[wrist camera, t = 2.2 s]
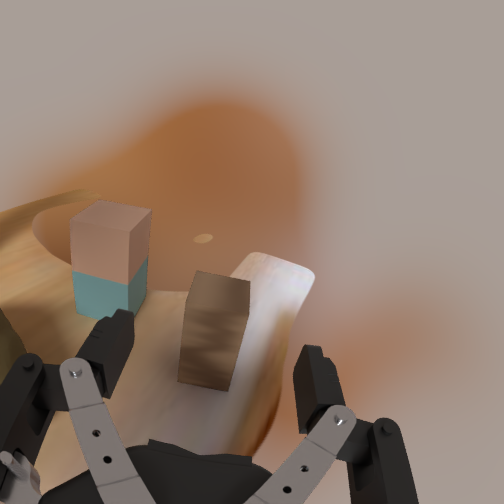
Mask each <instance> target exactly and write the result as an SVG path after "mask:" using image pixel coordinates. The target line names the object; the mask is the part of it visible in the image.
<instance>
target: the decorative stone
mask: <svg viewBox="0 0 504 504" xmlns="http://www.w3.org/2000/svg"><path fill="white" fill-rule="evenodd" d="M23 354H27V353H26V349H25V347H24V344H23V342H22V340H21V339H20V337H19V336H18V335H17V333H16V332H15V331H14V330H13V328H12V327H11V324H10V323H9V321H8V319H7V318H6V317H5V315H4V314H3V312H2V310H1V308H0V385H1V383H2V382H3V380H4V379H5V377H6V375H7V374H8V372H9V370H10V369H11V367H12V366H13V364H14V363H15V361H16V360H17V358H18V357H20V356H21V355H23Z"/></svg>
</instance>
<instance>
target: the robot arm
mask: <svg viewBox="0 0 504 504" xmlns="http://www.w3.org/2000/svg"><path fill="white" fill-rule="evenodd" d="M134 337H135V335H134V313H133V312H132V311H128V310H124V309H120V308H118V309H117V310H116V311H115V313H114V315H113V316H112V317H108V316H105V317H104V318H102V319H101V320H99V321H98V322H97V323H96V325H95V326H94V328H93V330H92V331H91V333H90V334H89V336H88V337H87V339H86V340H85V342H84V344H83V345H82V347H81V348H80V350H79V352H78V353H77V355H76V356H75V358H69V359H67V360H65V361H64V362H63V363H62V364H61V365H52V364H43V362H42V360H41V358H40V357H39V356H37V355H35V354H32V353H27V354H23V355H21V356H20V357H18V358H17V360H16V361H15V363H14V364H13V366H12V367H11V369H10V370H9V372H8V374H7V375H6V377H5V379H4V380H3V382H2V383H1V385H0V504H303V503H304V502H305V500H306V499H307V498H308V496H309V495H310V494H311V493H312V491H313V490H314V489H315V487H316V486H317V485H318V483H319V482H320V480H321V479H322V478H323V476H324V475H325V474H326V472H327V471H328V469H329V468H330V466H331V464H332V463H333V462H334V460H335V459H339V460H342V461H346V463H347V470H348V479H349V488H350V497H351V504H419V502H418V498H417V493H416V489H415V484H414V480H413V476H412V472H411V468H410V464H409V460H408V456H407V453H406V449H405V446H404V442H403V438H402V434H401V431H400V428H399V426H398V425H397V424H396V423H395V422H394V421H393V420H391V419H389V418H379V419H377V420H376V421H375V422H374V423H370V422H367V421H363V420H360V419H357V418H356V416H355V414H354V413H353V411H352V410H351V409H349V408H348V407H346V405H345V401H344V397H343V393H342V389H341V386H340V383H339V378H338V376H337V371H336V367H335V365H334V364H333V362H332V361H331V360H330V358H326V357H323V353H322V349H321V347H320V346H314V345H304V346H303V348H302V351H301V353H300V356H299V358H298V360H297V363H296V365H295V367H294V372H293V383H294V391H295V400H296V408H297V417H298V426H299V433H300V434H307V437H305V438H304V440H303V441H302V442H301V443H300V444H299V446H298V447H297V448H296V449H295V450H294V451H293V453H292V454H291V455H290V456H289V457H288V458H287V459H286V461H285V462H284V463H283V464H282V465H281V466H280V467H279V469H278V470H277V471H276V472H275V473H274V474H272V473H270V472H269V471H268V470H266V469H264V468H263V467H261V466H258V465H256V464H253V463H252V457H251V456H241V455H232V454H218V455H197V454H195V453H192V452H190V451H187V450H185V449H183V448H180V447H178V446H176V445H173V444H168V443H164V442H160V441H155V440H151V439H149V442H148V445H138V446H132V447H129V448H126V449H125V448H124V446H123V444H122V441H121V439H120V437H119V435H118V433H117V431H116V428H115V426H114V424H113V421H112V419H111V417H110V414H109V412H108V410H107V407H106V405H105V403H104V402H103V400H102V397H104V398H107V399H110V398H111V396H112V393H113V391H114V388H115V386H116V384H117V381H118V379H119V377H120V375H121V372H122V370H123V368H124V366H125V363H126V361H127V359H128V357H129V355H130V352H131V350H132V348H133V344H134ZM55 411H68V412H69V413H70V416H71V420H72V423H73V426H74V429H75V432H76V435H77V438H78V441H79V444H80V446H81V449H82V452H83V455H84V457H85V460H86V462H87V465H88V467H89V469H88V470H87V471H85V472H83V473H81V474H80V475H78V476H76V477H74V478H72V479H70V480H68V481H67V482H65V483H63V484H61V485H59V486H57V487H55V488H53V489H51V490H49V491H48V492H46V493H45V494H44V495H43V496H42V495H41V492H40V476H39V473H38V471H37V470H36V469H35V468H34V464H35V461H36V458H37V456H38V453H39V450H40V448H41V445H42V442H43V440H44V437H45V435H46V432H47V430H48V427H49V425H50V423H51V420H52V418H53V416H54V413H55Z"/></svg>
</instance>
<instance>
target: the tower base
mask: <svg viewBox="0 0 504 504" xmlns="http://www.w3.org/2000/svg"><path fill="white" fill-rule="evenodd" d="M147 266H148V256H147V258H146V259H145V261H144V262H143V264H142V265H141V267H140V268H139V269H138V271H137V272H136V274H135V275H134V277H133V278H132V280H131V281H130V283H129V284H128V285H126V284H122V283H118V282H114V281H110V280H106V279H102V278H99V277H95V276H91V275H87V274H84V273H80V272H76V271H73V270H72V275H73V285H74V294H75V302H76V310H77V313H78V314H81V315H84V316H88V317H91V318H94V319H98V320H101V319H102V318H104V317H105V316H108V317H112V316H113V315H114V313H115V311H116V310H117V309H118V308H120V309H124V310H128V311H132V312H133V313H134V317H135V315H136V313H137V311H138V310H139V308H140V306H141V304H142V302H143V300H144V298H145V297H146V284H147Z"/></svg>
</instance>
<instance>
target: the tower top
mask: <svg viewBox="0 0 504 504" xmlns="http://www.w3.org/2000/svg"><path fill="white" fill-rule="evenodd" d="M151 215H152V209H148V208H142V207H137V206H132V205H126V204H121V203H115V202H110V201H104V200H98V201H97V202H95V203H93V204H92V205H90V206H89V207H87V208H86V209H84V210H83V211H81V212H80V213H78V214H77V215H76V216H74V217H72V218H71V219H70V243H71V261H72V270H73V271H76V272H80V273H84V274H87V275H91V276H95V277H99V278H102V279H106V280H110V281H114V282H118V283H122V284H126V285H128V284H129V283H130V281H131V280H132V278H133V277H134V275H135V274H136V272H137V271H138V269H139V268H140V267H141V265H142V264H143V262H144V261H145V259H146V258H147V256H148V249H149V236H150V225H151Z"/></svg>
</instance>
